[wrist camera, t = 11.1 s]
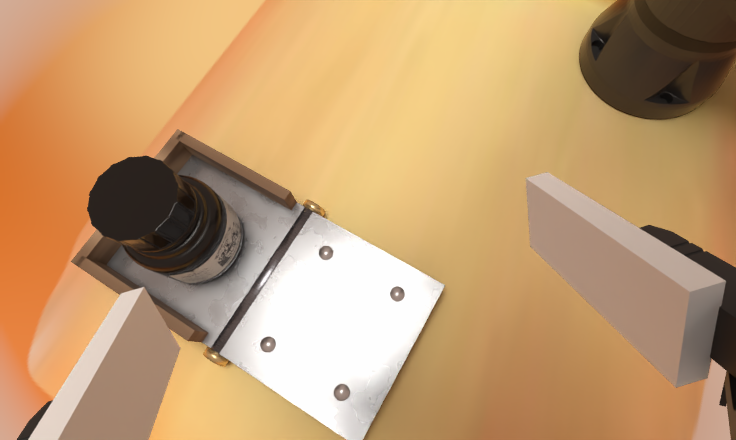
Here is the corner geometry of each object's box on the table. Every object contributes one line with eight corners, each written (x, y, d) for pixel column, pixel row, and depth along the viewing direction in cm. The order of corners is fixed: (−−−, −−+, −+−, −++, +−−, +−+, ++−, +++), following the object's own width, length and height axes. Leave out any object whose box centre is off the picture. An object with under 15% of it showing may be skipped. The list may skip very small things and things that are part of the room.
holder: (190, 143, 46) (177, 129, 43) (296, 202, 43) (290, 191, 41) (92, 268, 42) (70, 261, 39) (202, 342, 39) (187, 340, 36)
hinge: (205, 148, 49) (194, 135, 46) (446, 281, 43) (449, 276, 40) (102, 280, 44) (84, 275, 42) (355, 451, 38) (352, 458, 35)
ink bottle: (214, 303, 40) (146, 280, 29) (138, 267, 42) (45, 232, 31) (262, 215, 43) (216, 162, 32) (189, 184, 45) (121, 123, 33)
